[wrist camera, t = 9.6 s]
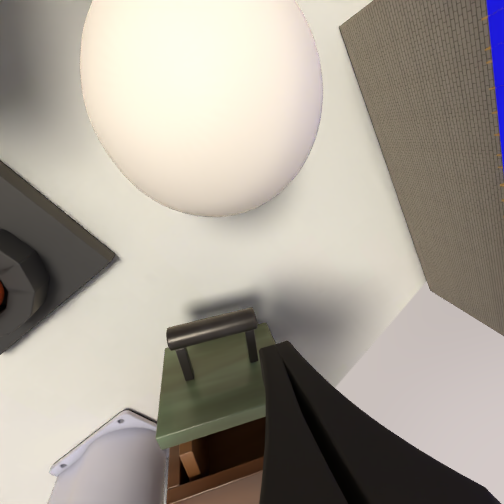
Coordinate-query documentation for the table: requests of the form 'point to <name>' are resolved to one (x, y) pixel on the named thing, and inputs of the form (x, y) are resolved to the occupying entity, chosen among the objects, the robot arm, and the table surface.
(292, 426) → the robot arm
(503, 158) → the house
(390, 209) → the table surface
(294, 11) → the figurine
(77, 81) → the table surface
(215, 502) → the cabinet
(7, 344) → the button box
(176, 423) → the drawer
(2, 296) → the button
